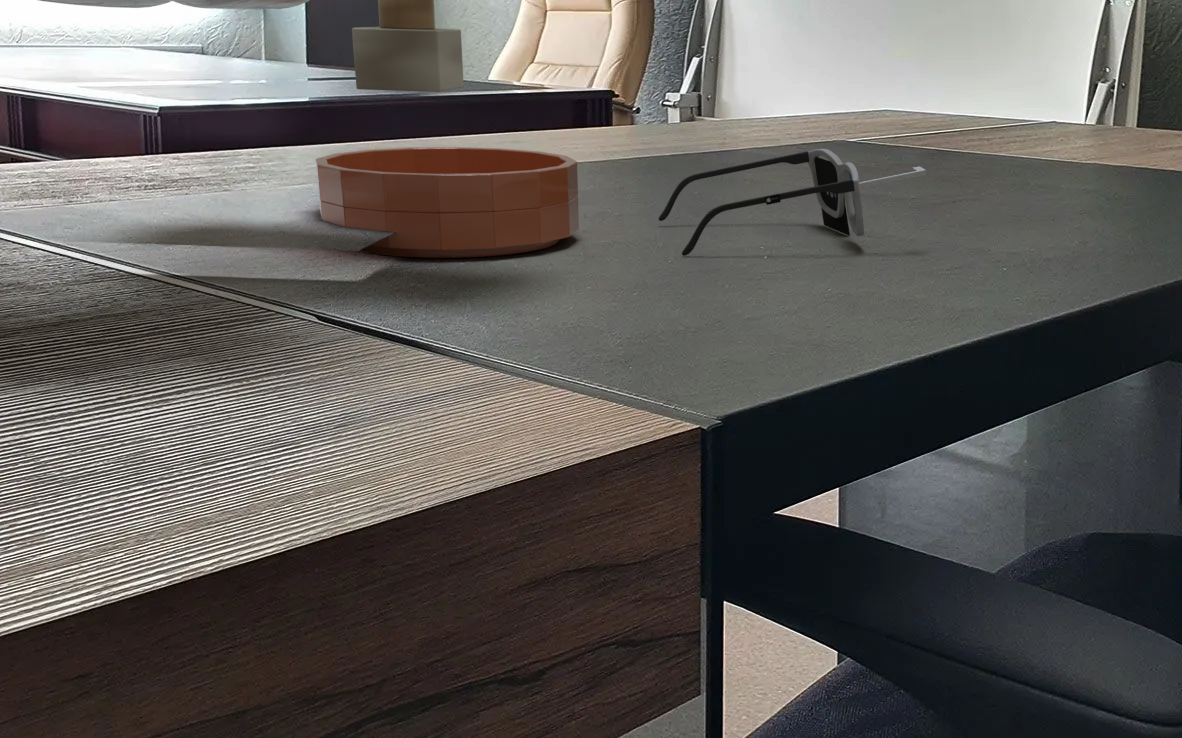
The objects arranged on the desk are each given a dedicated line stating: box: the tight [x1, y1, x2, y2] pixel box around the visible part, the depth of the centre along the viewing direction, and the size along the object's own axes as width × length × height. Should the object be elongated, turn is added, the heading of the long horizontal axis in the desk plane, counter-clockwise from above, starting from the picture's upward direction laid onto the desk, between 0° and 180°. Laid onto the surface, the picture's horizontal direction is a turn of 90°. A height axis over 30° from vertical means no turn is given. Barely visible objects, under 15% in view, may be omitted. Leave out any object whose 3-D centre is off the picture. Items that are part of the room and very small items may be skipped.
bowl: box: [314, 146, 580, 259], centre depth 79 cm, size 14×14×4 cm
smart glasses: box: [658, 148, 927, 256], centre depth 83 cm, size 12×14×5 cm
